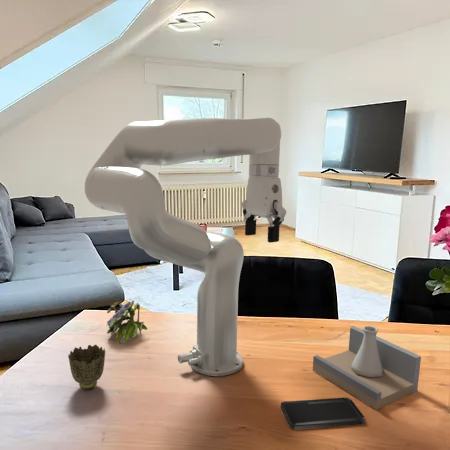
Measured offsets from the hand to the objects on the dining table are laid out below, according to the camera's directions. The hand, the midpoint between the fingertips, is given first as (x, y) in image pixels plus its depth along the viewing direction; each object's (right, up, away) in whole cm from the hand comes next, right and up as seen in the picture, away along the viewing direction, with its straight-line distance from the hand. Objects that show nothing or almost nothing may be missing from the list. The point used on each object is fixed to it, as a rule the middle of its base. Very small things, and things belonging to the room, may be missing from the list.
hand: (261, 238), depth 109 cm
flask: (+23, -30, -13) cm, 40 cm away
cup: (-39, -31, -19) cm, 53 cm away
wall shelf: (+21, -32, -14) cm, 41 cm away
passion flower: (-36, -27, +7) cm, 46 cm away
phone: (+9, -34, -26) cm, 44 cm away
